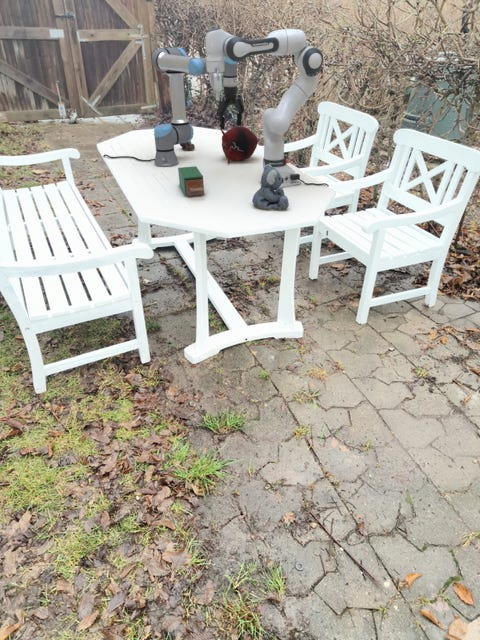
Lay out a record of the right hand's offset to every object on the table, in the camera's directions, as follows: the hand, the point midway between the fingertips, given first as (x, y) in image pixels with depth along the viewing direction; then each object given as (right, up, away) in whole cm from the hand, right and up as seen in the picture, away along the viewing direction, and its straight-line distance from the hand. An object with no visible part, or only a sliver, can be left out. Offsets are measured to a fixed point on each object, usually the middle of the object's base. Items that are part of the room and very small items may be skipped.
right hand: (216, 98), depth 227 cm
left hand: (+7, -1, +31) cm, 32 cm away
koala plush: (+27, -53, +3) cm, 60 cm away
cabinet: (-15, -39, +24) cm, 48 cm away
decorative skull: (+11, -4, +75) cm, 76 cm away
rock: (-27, +11, +97) cm, 101 cm away
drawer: (-14, -42, +19) cm, 48 cm away
